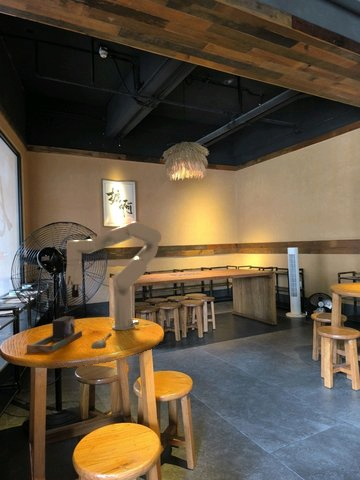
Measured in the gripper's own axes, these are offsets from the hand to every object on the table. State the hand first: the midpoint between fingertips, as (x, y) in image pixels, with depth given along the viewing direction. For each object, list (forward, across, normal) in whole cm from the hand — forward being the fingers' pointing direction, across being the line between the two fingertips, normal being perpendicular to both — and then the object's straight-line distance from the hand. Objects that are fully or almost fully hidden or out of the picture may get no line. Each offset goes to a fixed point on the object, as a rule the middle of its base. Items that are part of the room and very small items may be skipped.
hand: (75, 297), depth 172 cm
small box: (+19, +12, 0) cm, 23 cm away
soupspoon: (+20, +14, +22) cm, 33 cm away
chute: (+19, +18, 0) cm, 26 cm away
